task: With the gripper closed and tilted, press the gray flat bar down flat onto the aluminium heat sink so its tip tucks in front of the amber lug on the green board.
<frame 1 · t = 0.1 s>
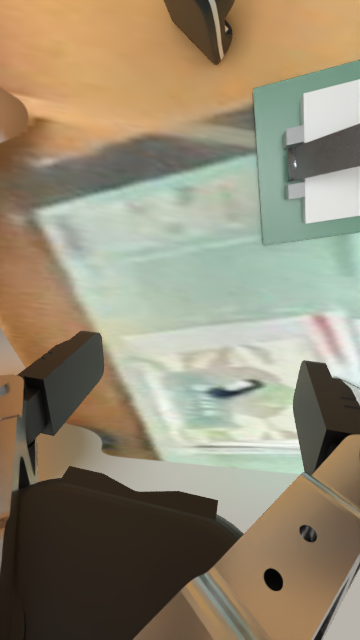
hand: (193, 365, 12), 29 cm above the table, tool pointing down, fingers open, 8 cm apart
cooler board: (359, 154, 32), on the table
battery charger: (206, 26, 30), on the table
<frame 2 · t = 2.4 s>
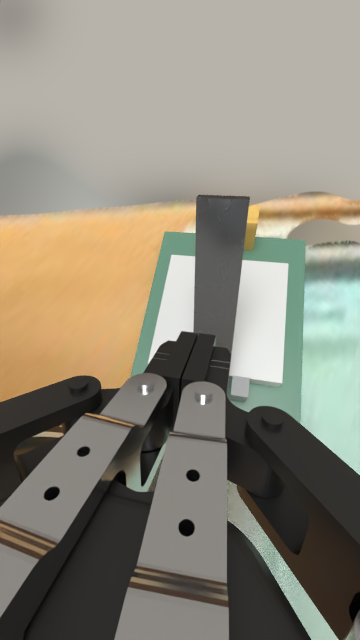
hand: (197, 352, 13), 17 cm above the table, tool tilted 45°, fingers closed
gray flat bar: (215, 312, 21), point 10 cm above the table, hinge at 55.0°
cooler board: (220, 323, 31), on the table
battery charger: (52, 444, 29), on the table
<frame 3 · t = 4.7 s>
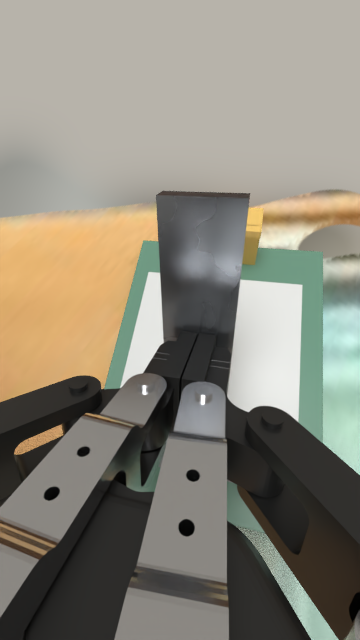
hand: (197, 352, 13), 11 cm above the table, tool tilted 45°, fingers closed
gray flat bar: (197, 371, 14), point 10 cm above the table, hinge at 54.9°, touching gripper
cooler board: (212, 362, 24), on the table
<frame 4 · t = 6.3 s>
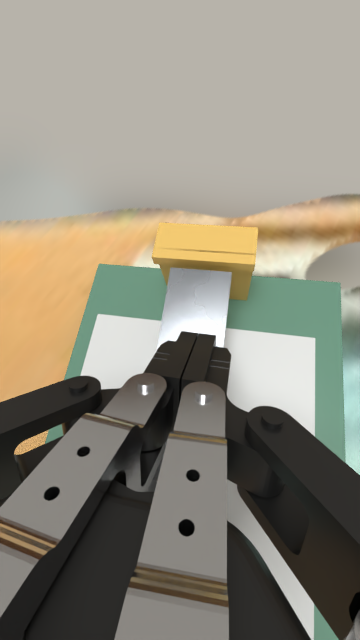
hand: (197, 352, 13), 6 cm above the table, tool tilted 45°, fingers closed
gray flat bar: (177, 439, 13), point 5 cm above the table, hinge at 6.7°
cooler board: (188, 440, 17), on the table
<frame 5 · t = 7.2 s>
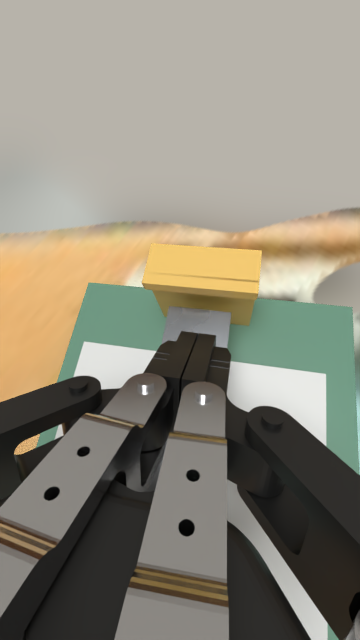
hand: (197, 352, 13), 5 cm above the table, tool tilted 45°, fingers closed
gray flat bar: (171, 493, 12), point 4 cm above the table, hinge at 1.1°, touching gripper
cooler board: (183, 483, 15), on the table
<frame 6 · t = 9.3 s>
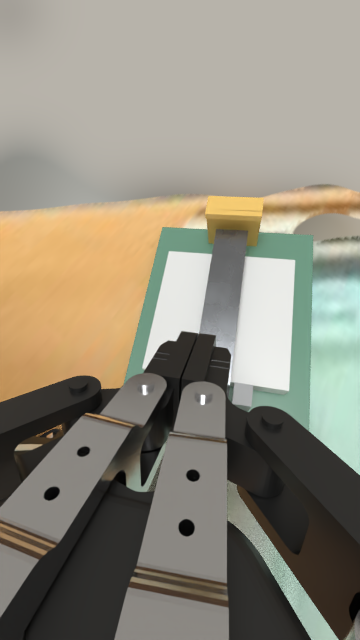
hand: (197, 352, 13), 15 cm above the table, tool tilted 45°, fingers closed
gray flat bar: (221, 307, 25), point 4 cm above the table, hinge at 1.1°
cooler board: (221, 325, 29), on the table
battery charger: (39, 455, 27), on the table
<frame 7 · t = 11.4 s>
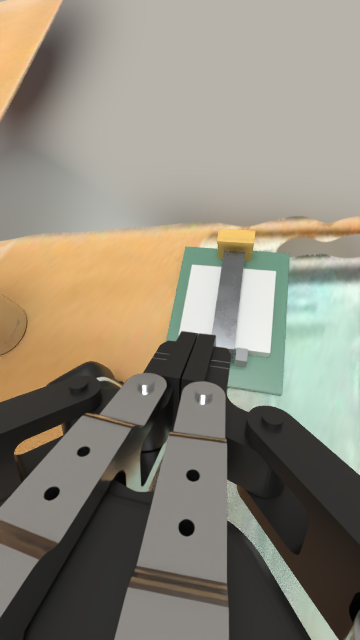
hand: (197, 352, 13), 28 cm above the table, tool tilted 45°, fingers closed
gray flat bar: (228, 301, 40), point 4 cm above the table, hinge at 1.1°
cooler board: (227, 314, 43), on the table
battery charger: (108, 399, 41), on the table
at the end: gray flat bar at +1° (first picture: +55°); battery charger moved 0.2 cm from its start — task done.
